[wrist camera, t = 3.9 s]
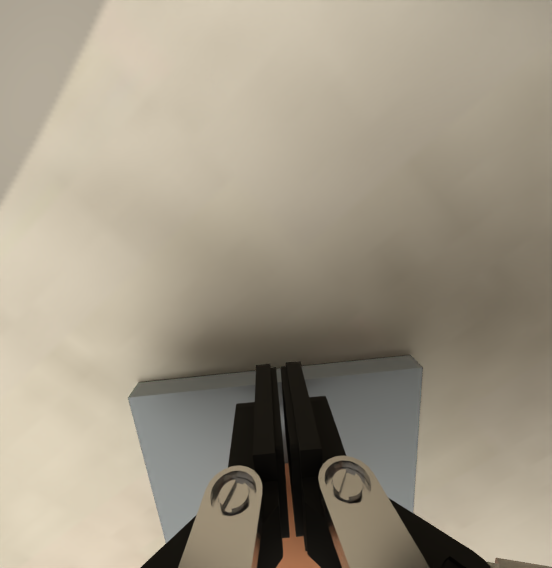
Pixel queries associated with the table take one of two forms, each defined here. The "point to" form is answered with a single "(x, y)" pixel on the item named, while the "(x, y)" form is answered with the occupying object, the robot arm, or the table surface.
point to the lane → (241, 389)
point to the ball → (294, 539)
